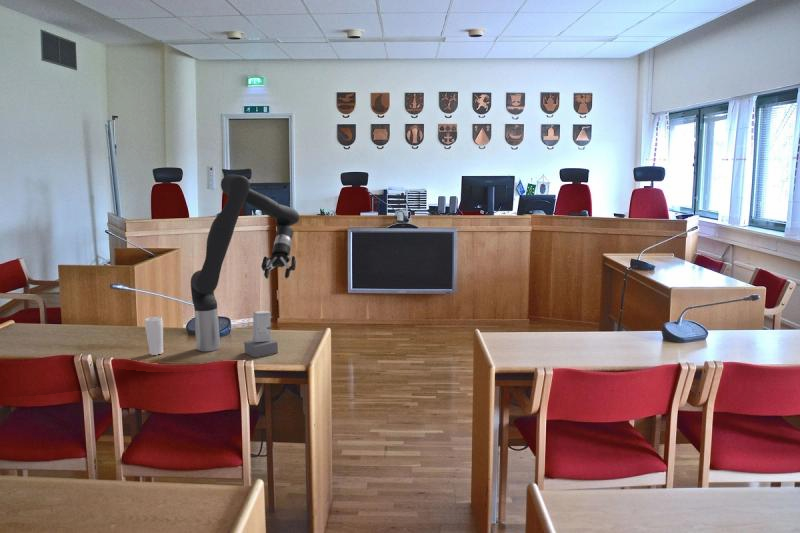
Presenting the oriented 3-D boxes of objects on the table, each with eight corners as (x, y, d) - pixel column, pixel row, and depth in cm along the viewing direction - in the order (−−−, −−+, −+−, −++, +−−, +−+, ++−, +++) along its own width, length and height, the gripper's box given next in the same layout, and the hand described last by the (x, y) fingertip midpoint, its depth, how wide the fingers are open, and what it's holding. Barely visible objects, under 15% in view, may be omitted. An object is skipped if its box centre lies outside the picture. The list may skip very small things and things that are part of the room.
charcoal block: (244, 353, 268) (244, 341, 268) (267, 348, 274) (266, 337, 274) (255, 358, 261) (254, 346, 260) (278, 353, 266) (277, 342, 266)
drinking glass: (148, 357, 265) (145, 321, 263) (146, 353, 271) (143, 318, 269) (166, 354, 268) (163, 319, 266) (164, 350, 274) (161, 316, 272)
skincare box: (256, 342, 264) (256, 313, 262) (252, 340, 268) (252, 311, 266) (270, 341, 267) (271, 312, 266) (266, 338, 271) (266, 310, 270)
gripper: (264, 242, 284) (257, 272, 275) (296, 241, 283) (290, 272, 273) (268, 252, 290) (262, 282, 281) (299, 252, 289) (294, 282, 279)
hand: (276, 277), depth 277 cm, fingers open, 8 cm apart
